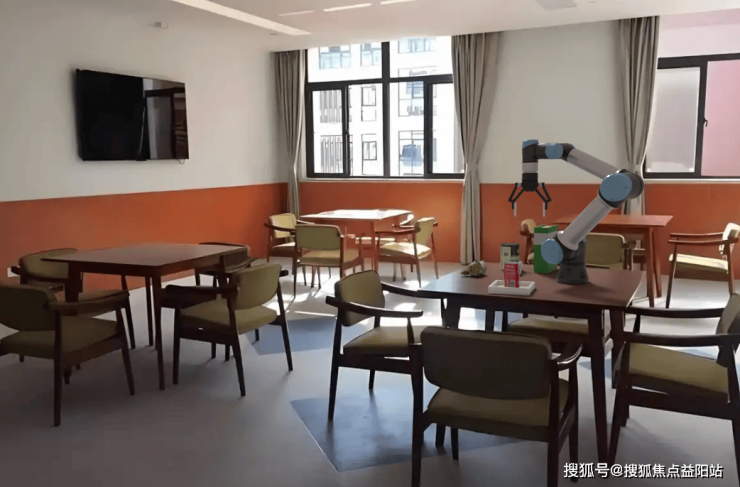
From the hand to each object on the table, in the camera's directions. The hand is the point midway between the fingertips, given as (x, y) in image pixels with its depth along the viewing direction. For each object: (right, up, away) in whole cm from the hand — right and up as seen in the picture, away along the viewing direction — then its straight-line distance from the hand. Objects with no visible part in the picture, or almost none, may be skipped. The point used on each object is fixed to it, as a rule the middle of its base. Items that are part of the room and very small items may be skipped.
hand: (529, 216), depth 318 cm
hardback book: (+17, -28, +35) cm, 48 cm away
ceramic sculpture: (-22, -30, +23) cm, 44 cm away
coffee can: (-1, -27, +42) cm, 50 cm away
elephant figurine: (-2, -29, +25) cm, 39 cm away
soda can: (-13, -34, -19) cm, 41 cm away
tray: (-13, -34, -19) cm, 41 cm away
